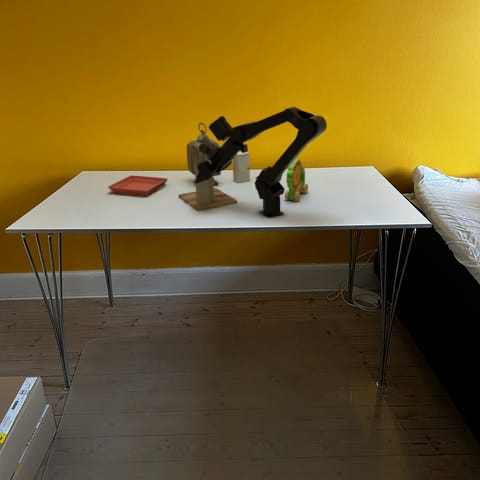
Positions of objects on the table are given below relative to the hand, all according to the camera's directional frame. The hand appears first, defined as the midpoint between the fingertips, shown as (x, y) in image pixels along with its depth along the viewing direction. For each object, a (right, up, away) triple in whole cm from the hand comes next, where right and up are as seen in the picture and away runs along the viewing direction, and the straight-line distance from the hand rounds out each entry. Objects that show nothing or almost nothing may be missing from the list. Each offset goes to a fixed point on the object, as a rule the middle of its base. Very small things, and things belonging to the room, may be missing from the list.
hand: (200, 179), depth 173 cm
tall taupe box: (+1, -8, +3) cm, 8 cm away
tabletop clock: (-1, +1, +26) cm, 26 cm away
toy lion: (+35, -6, +7) cm, 37 cm away
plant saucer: (-27, -2, +21) cm, 34 cm away
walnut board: (+2, -7, +6) cm, 10 cm away
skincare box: (+15, +3, +29) cm, 32 cm away
